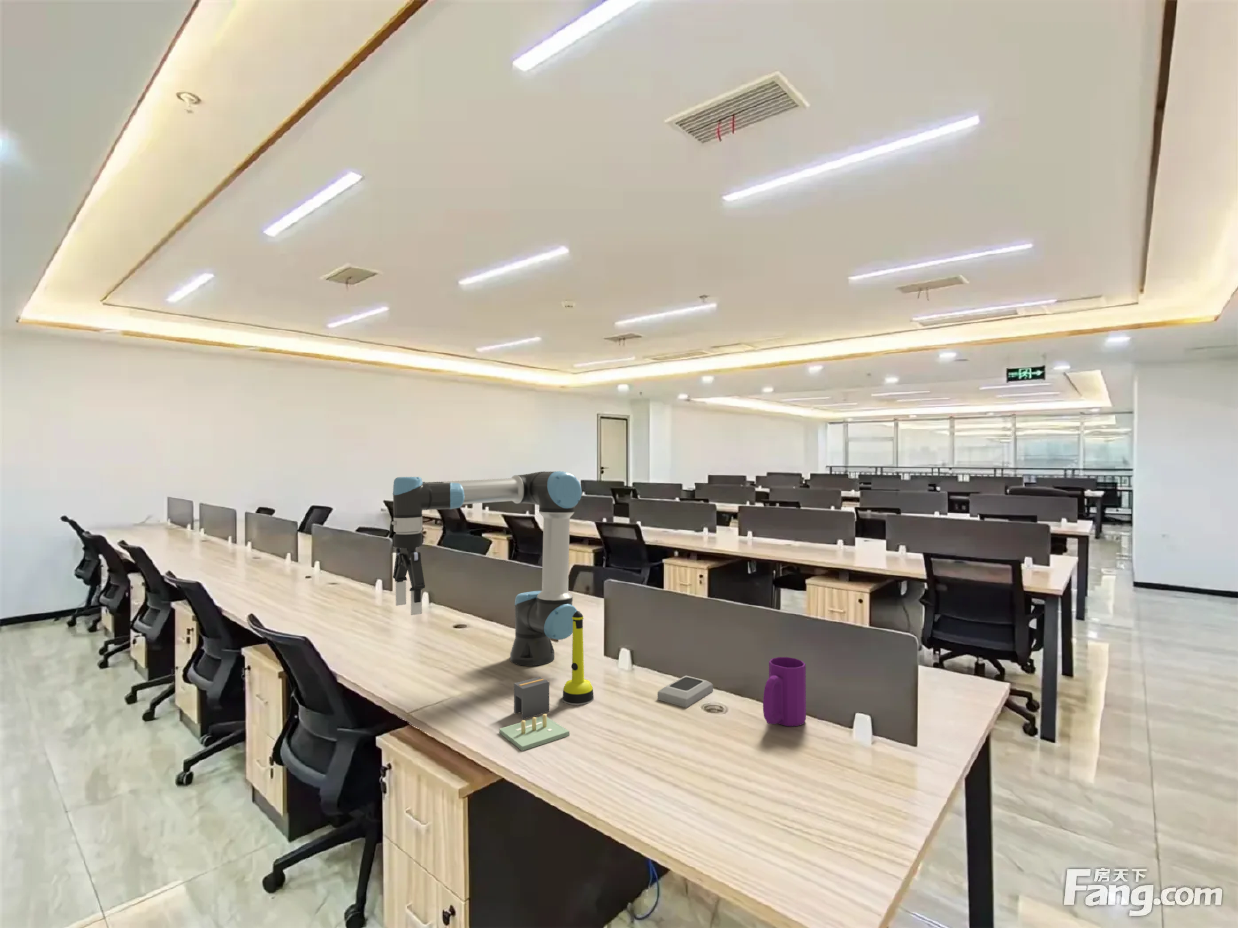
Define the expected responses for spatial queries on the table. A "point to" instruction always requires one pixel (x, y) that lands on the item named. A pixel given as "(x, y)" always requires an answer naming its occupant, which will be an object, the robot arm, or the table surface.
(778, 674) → the mug
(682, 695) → the grey flat block
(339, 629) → the table surface
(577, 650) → the flashlight
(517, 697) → the plug housing
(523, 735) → the board
